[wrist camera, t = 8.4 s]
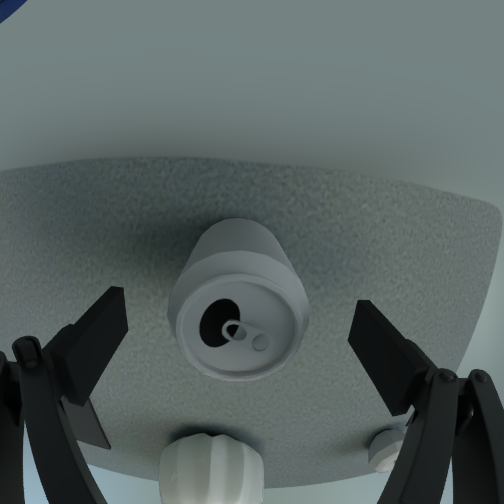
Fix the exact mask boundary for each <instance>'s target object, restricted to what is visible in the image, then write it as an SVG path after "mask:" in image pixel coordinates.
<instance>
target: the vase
mask: <svg viewBox="0 0 504 504" xmlns="http://www.w3.org/2000/svg"><path fill="white" fill-rule="evenodd" d="M159 490H160V498H161V503H162V504H262V502H263V494H264V468H263V461H262V458H261V455H260V454H258V453H257V452H256V451H255V450H253V449H252V448H251V447H249V446H248V445H247V444H245V443H244V442H242V441H237V440H235V439H233V438H231V437H229V436H227V435H225V434H222V435H218V436H214V437H211V436H209V435H207V434H205V433H199V434H195V435H192V436H189V437H183V438H180V439H179V440H177V441H175V442H173V443H172V444H170V445H168V446H167V447H165V448H164V449H163V451H162V454H161V458H160V462H159Z"/></svg>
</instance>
